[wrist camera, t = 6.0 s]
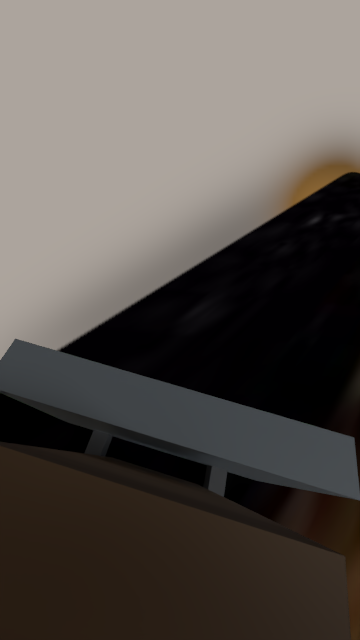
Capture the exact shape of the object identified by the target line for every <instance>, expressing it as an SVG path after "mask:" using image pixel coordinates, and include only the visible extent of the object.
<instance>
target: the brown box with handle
mask: <svg viewBox="0 0 360 640" xmlns="http://www.w3.org/2000/svg"><path fill="white" fill-rule="evenodd" d="M0 640H351V636H350V622H349V607H348V593H347V578H346V564H345V556H343V555H341V554H339V553H337V552H335V551H333V550H331V549H329V548H327V547H325V546H323V545H321V544H319V543H317V542H315V541H313V540H311V539H309V538H306V537H304V536H302V535H300V534H298V533H296V532H294V531H292V530H290V529H288V528H286V527H284V526H282V525H280V524H278V523H276V522H274V521H272V520H270V519H268V518H265V517H263V516H261V515H259V514H257V513H255V512H253V511H251V510H249V509H247V508H245V507H243V506H241V505H239V504H237V503H235V502H233V501H231V500H229V499H227V498H224V497H222V496H220V495H218V494H216V493H214V492H212V491H210V490H208V489H206V488H204V487H202V486H200V485H198V484H195V483H191V482H188V481H185V480H182V479H179V478H176V477H172V476H169V475H166V474H163V473H160V472H156V471H153V470H150V469H147V468H144V467H141V466H137V465H134V464H131V463H128V462H125V461H121V460H118V459H115V458H112V457H105V456H98V455H91V454H84V453H77V452H70V451H62V450H55V449H48V448H41V447H34V446H27V445H20V444H13V443H5V442H0Z"/></svg>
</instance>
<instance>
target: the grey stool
mask: <svg viewBox="0 0 360 640" xmlns="http://www.w3.org/2000/svg"><path fill="white" fill-rule="evenodd" d="M0 393H2V394H5V395H7V396H9V397H11V398H14V399H16V400H18V401H20V402H23V403H25V404H27V405H29V406H32V407H34V408H36V409H39V410H41V411H43V412H45V413H48V414H50V415H52V416H54V417H57V418H59V419H61V420H63V421H66V422H68V423H71V424H75V425H78V426H81V427H84V428H88V429H91V430H94V431H93V433H92V436H91V438H90V441H89V443H88V445H87V448H86V450H85V453H84V454H91V455H98V456H105V455H106V453H107V450H108V447H109V445H110V442H111V439H112V437H113V436H114V437H117V438H120V439H123V440H127V441H130V442H133V443H136V444H139V445H143V446H146V447H149V448H152V449H156V450H159V451H162V452H165V453H169V454H172V455H175V456H178V457H182V458H185V459H188V460H191V461H195V462H198V463H201V464H204V465H207V468H206V474H205V479H204V485H203V487H204V488H206V489H208V490H210V491H212V492H214V493H216V494H218V495H220V496H222V497H224V491H225V484H226V477H227V472H230V473H233V474H237V475H240V476H243V477H246V478H250V479H253V480H256V481H262V482H267V483H272V484H277V485H283V486H288V487H293V488H298V489H303V490H309V491H314V492H319V493H324V494H330V495H335V496H340V497H345V498H351V499H356V500H360V492H359V482H358V471H357V461H356V451H355V441H354V437H350V436H347V435H343V434H340V433H337V432H333V431H330V430H326V429H323V428H319V427H316V426H313V425H309V424H306V423H302V422H299V421H295V420H292V419H289V418H285V417H282V416H278V415H275V414H271V413H268V412H265V411H261V410H258V409H254V408H251V407H247V406H244V405H241V404H237V403H234V402H230V401H227V400H223V399H220V398H217V397H213V396H210V395H206V394H203V393H200V392H196V391H193V390H189V389H186V388H182V387H179V386H176V385H172V384H169V383H165V382H162V381H158V380H155V379H152V378H148V377H145V376H141V375H138V374H134V373H131V372H128V371H124V370H121V369H117V368H114V367H110V366H107V365H104V364H100V363H97V362H93V361H90V360H86V359H83V358H80V357H76V356H73V355H69V354H66V353H62V352H59V351H56V350H52V349H49V348H45V347H42V346H38V345H35V344H32V343H28V342H24V341H21V340H18V339H15V340H14V342H13V343H12V345H11V346H10V347H9V349H8V350H7V352H6V353H5V355H4V356H3V357H2V359H1V360H0Z"/></svg>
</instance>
